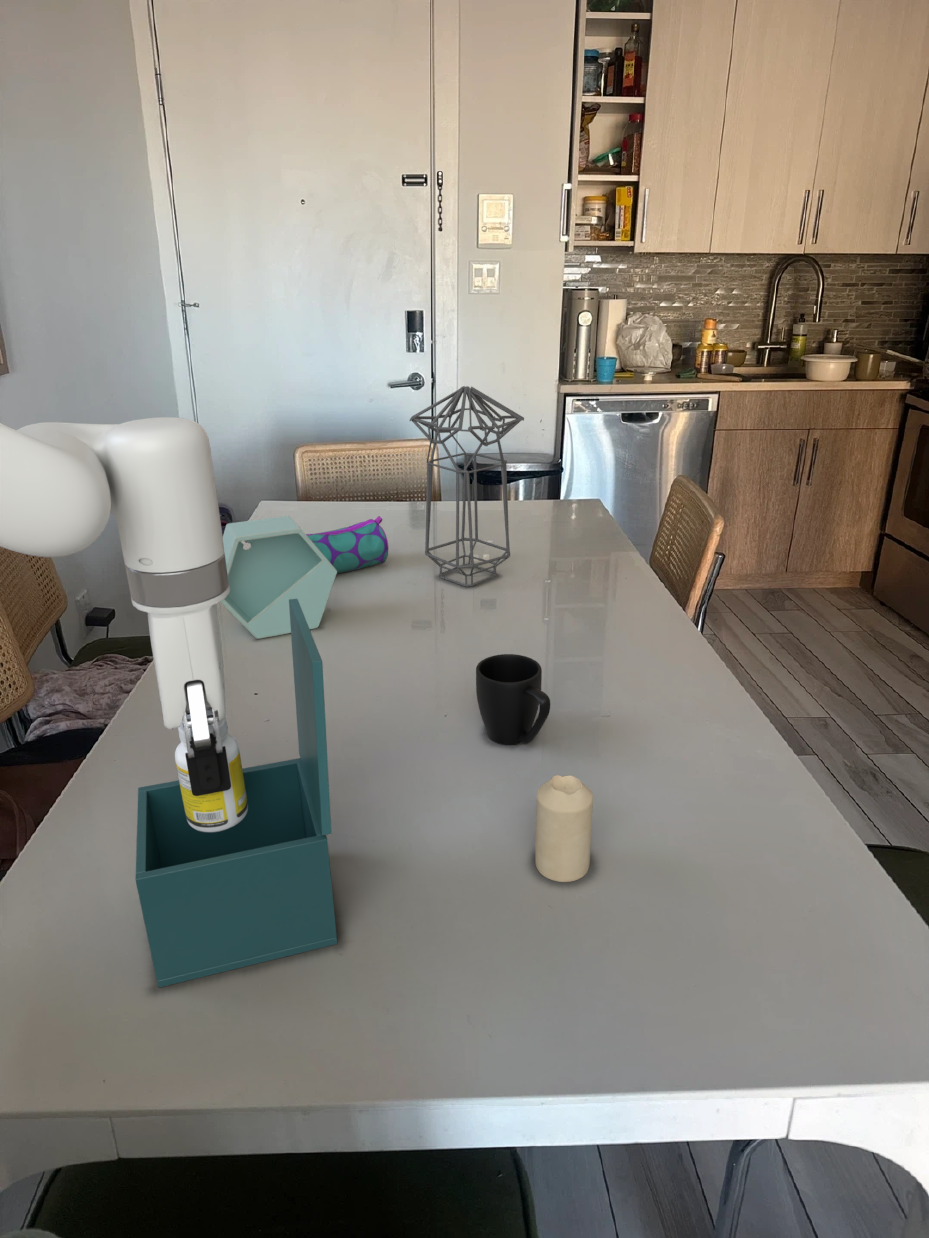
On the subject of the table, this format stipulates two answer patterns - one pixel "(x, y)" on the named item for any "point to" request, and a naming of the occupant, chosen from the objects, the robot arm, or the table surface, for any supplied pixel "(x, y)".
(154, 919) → the teal open box
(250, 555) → the planter
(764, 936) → the table surface
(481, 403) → the geometric lantern
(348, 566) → the pencil case
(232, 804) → the supplement bottle
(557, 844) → the candle
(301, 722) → the cool box lid
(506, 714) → the mug
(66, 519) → the robot arm
